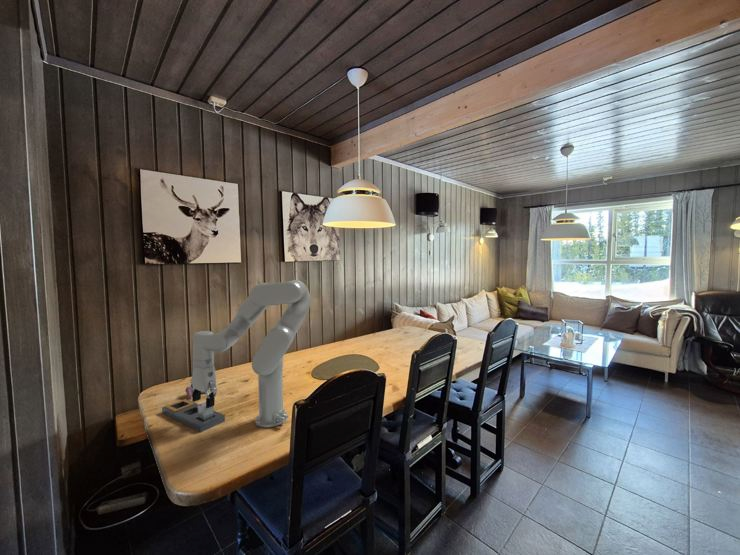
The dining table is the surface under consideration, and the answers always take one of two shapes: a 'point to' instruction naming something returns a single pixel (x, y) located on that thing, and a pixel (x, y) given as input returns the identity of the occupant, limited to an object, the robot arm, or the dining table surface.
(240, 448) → the dining table surface
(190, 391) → the video game controller
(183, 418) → the grey flat slotted plate
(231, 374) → the dining table surface
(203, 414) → the steel block
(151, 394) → the dining table surface
